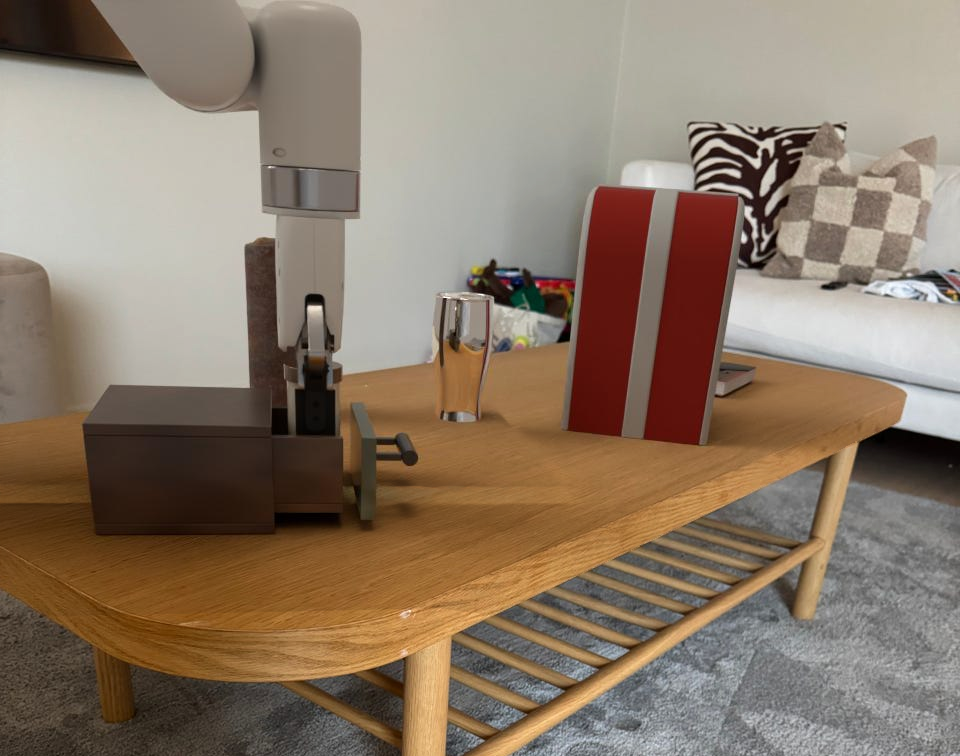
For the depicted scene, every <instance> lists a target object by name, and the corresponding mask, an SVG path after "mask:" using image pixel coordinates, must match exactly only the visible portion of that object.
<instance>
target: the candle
mask: <svg viewBox="0 0 960 756" xmlns="http://www.w3.org/2000/svg"><path fill="white" fill-rule="evenodd" d="M243 248H244V250H243V251H244V252H243V253H244V254H243V255H244V273H245V275H244V276H245V298H246V301H245V302H246V323H247V325H246V326H247V347H248V349H247V351H248V377H249V378H248V381H249V388H271V389H272V405H274V406H287V380H285V378H284V363H285V362H287V361H290V360H296V345H295V346H287V352H284V351H282V350H281V349H280V348H279V346H278V329H277V297H276V269H275V237H265V236H261V237H257V238H256V239H255V240H254V241H252V242H249V243H245V245H244V247H243Z"/></svg>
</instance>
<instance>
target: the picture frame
mask: <svg viewBox="0 0 960 756" xmlns="http://www.w3.org/2000/svg"><path fill="white" fill-rule="evenodd" d="M756 368H757V367H756V366H753V365H748V364H747V365H746V364H741V363H733V362H727V361H721V362H720V368H719V374H718V380H717V386H716V392H715V397H716V396H717V397H721V398H722V397H724V396H725V395H727V394H729V393H732V392H733V391H736V390H738V389H739V388H742V387H743V386H746V385H747V384H750V383H751V382H752V381H754V380H755V375H756V370H757V369H756Z"/></svg>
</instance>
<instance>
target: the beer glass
mask: <svg viewBox="0 0 960 756" xmlns="http://www.w3.org/2000/svg"><path fill="white" fill-rule="evenodd" d="M434 295H435V296H434V297H435V298H434V306H433V314H432V321H431V322H432V323H431V355H432V356H431V357H432V363H433V364H432V365H433V372H434V380H435V389H436V395H435V396H436V400H435V408H434V413H433V416H434V417H435V418H436V419H439V420H442V421H447V422H454V423H472V422H479V421H481V420H483V415H482V401H483V394H484V393H483V392H484V388H485V384H486V379H487V376H488V371H489V367H490V364H491V358H492V352H493V348H494V347H493V345H494V335H495V333H494V332H495V297H494V296H493V295H489V294H485V293H479V292H470V291H439V292H436V293H435V294H434Z"/></svg>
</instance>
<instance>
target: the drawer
mask: <svg viewBox="0 0 960 756" xmlns="http://www.w3.org/2000/svg"><path fill="white" fill-rule="evenodd" d="M349 405H350V407H349V410H350V411H349V417H350V418H349V421H350V422H349V470H350V474H351V479H352V483H353V485H352V488H353V493H354V498H355V501H356V506H357V509H358V513H359V517H360V518H359V519H360V520H361V521H376V505H377V503H376V501H377V500H376V499H377V496H376V494H377V462H379V461H380V462H402V464H403V465H405V466H406V467H413V466H415V465H417V463H418V461H419V455H418V452H417V450H416V448H415V447H414V444H413V442H412V440H411V438H410V436H409V435H408V433H406V432H398V433H397V434H396V435H395V436H392V437H391V436H376V433H375V430H374V427H373V424H372V423H371V419H370V417H369V414H368V411H367V409H366V406H365V403H364V402H363V401H362V402H359V401H356V402H355V401H351V402H350V403H349ZM377 446H395V448H396V449H397V452H395V451H390V452H387V451H386V452H385V451H384V452H383V451H382V452H381V451H377ZM272 456H273V487H274V513H275V514H308V513H309V514H323V513H324V514H326V513H327V514H337V513H338V514H342V513H344V436H343V435H340V436H320V435H288V413H287V406H274V405H272Z"/></svg>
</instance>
